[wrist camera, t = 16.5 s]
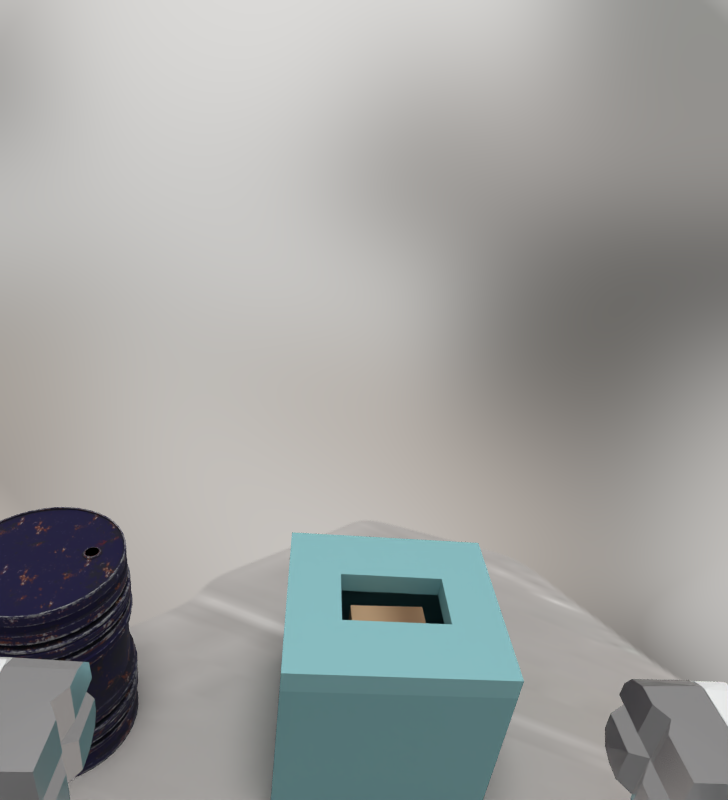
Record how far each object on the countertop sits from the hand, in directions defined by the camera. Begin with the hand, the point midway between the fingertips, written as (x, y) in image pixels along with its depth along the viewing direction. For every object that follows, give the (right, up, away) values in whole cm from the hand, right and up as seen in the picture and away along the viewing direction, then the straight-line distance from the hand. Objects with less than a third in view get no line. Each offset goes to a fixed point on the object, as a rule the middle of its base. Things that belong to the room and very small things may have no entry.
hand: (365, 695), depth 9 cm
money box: (0, -20, +36) cm, 41 cm away
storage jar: (-21, -18, +34) cm, 44 cm away
